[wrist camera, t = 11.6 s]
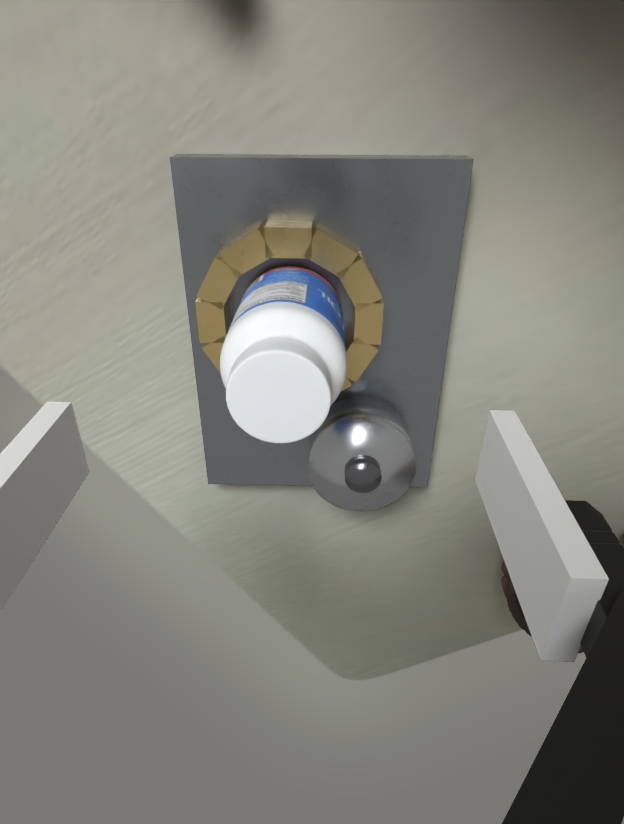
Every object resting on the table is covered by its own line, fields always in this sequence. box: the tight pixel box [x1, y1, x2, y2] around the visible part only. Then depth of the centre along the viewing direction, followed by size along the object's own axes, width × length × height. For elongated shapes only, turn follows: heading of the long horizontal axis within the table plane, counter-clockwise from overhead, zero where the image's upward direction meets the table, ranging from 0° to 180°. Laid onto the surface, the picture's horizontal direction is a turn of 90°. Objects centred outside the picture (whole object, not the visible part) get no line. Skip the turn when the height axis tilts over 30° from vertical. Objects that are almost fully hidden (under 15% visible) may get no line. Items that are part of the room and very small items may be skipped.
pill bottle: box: [220, 266, 347, 443], centre depth 24 cm, size 6×5×10 cm
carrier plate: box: [170, 154, 473, 511], centre depth 29 cm, size 19×14×5 cm
